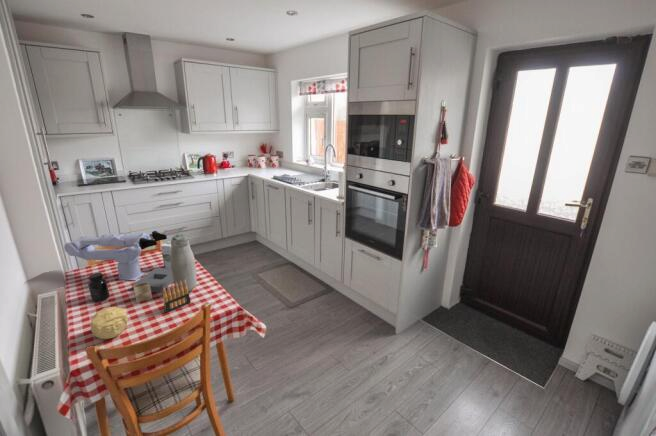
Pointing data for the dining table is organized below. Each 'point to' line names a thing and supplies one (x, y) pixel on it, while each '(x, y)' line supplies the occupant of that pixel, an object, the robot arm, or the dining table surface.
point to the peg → (142, 291)
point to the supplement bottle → (98, 287)
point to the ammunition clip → (175, 297)
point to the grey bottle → (183, 262)
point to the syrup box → (166, 254)
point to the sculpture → (109, 322)
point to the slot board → (157, 279)
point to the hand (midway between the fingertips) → (161, 239)
